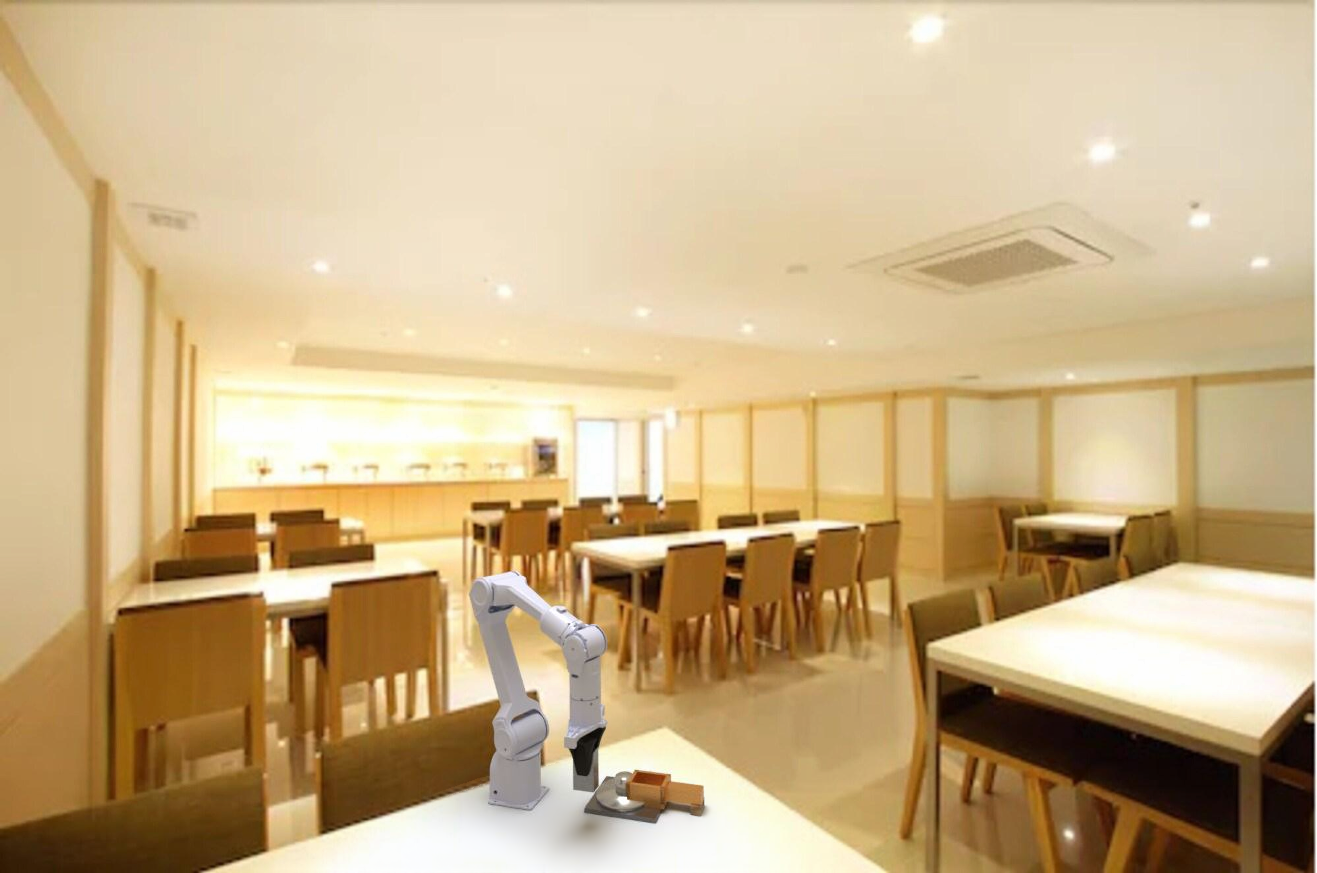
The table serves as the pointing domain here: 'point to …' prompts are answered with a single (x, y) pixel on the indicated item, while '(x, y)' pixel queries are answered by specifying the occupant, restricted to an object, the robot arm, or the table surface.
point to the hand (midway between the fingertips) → (585, 770)
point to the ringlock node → (643, 796)
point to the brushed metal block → (592, 779)
